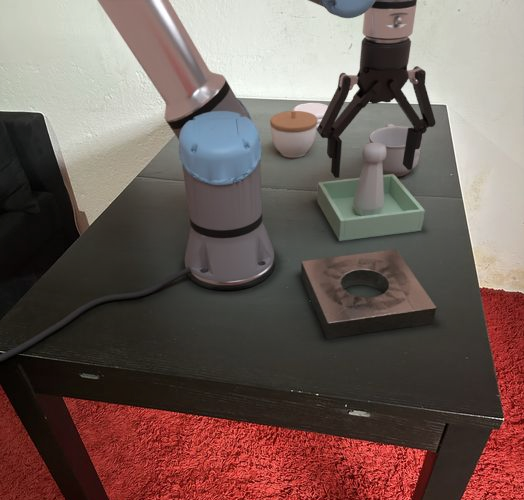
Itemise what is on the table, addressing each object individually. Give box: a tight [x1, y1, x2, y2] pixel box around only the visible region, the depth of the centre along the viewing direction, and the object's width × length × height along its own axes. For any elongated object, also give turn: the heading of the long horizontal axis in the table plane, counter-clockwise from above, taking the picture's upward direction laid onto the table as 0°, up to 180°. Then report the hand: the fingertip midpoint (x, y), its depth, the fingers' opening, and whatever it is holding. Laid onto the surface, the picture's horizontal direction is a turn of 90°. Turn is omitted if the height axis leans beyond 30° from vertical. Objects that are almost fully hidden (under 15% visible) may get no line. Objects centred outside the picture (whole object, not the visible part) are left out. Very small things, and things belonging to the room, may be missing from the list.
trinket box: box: [269, 110, 317, 159], centre depth 121 cm, size 11×11×9 cm
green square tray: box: [316, 174, 426, 242], centre depth 100 cm, size 16×16×4 cm
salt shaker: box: [353, 142, 387, 216], centre depth 96 cm, size 6×6×13 cm
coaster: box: [292, 102, 329, 129], centre depth 137 cm, size 10×10×4 cm
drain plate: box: [300, 248, 437, 340], centre depth 81 cm, size 16×16×3 cm
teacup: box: [368, 123, 424, 178], centre depth 113 cm, size 14×11×8 cm
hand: (371, 170), depth 95 cm, fingers open, 13 cm apart
